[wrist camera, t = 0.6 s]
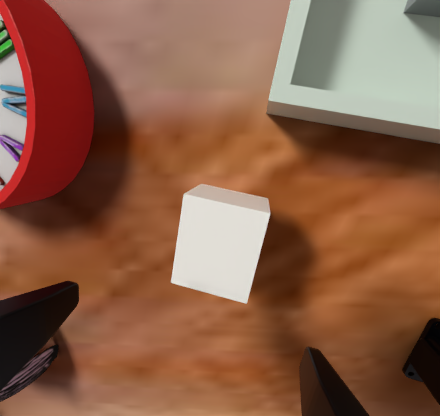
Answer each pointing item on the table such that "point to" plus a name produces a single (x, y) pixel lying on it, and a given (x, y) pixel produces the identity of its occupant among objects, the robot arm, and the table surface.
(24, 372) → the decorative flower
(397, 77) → the walled box
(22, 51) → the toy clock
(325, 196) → the table surface
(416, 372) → the robot arm
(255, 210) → the block
